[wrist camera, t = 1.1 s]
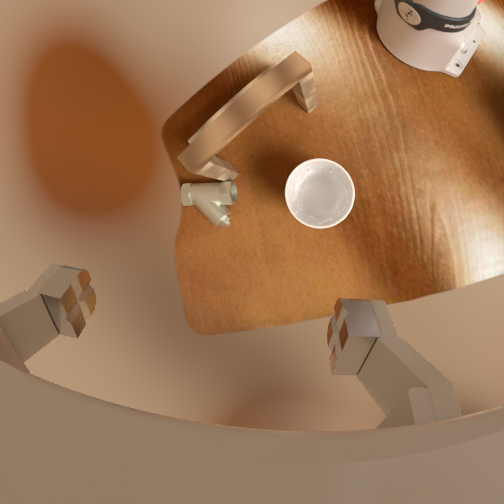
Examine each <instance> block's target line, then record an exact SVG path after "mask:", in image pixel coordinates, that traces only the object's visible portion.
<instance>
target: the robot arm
mask: <svg viewBox="0 0 504 504" xmlns="http://www.w3.org/2000/svg"><path fill="white" fill-rule="evenodd" d="M482 1H483V0H376V1H375V3H374V7H375V10H376V12H377V14H378V18H377V32H378V35H379V37H380V39H381V41H382V43H383V44H384V45H385V47H386V48H387V49H388V50H389V51H390V52H391V53H392V54H393V55H394V56H395V57H397V58H398V59H400V60H401V61H403V62H404V63H406V64H408V65H410V66H413V67H415V68H418V69H422V70H427V71H440V72H443V73H446V74H448V75H450V76H453V77H459V76H460V74H461V73H462V71H463V70H464V68H465V66H466V65H467V63H468V62H469V60H470V58H471V57H472V55H473V54H474V52H475V50H476V49H477V47H478V45H479V44H480V42H481V40H482V38H483V37H484V34H485V32H484V30H483V28H482V26H481V24H480V23H479V21H480V19H481V15H480V12H479V11H478V9H477V8H476V5H477V4H480V3H481V2H482ZM455 64H456V65H458V67H457V66H456V65H455ZM90 281H91V278H90V275H89V273H88V271H86V270H85V269H79V268H74V267H69V266H62V265H57V264H52V265H50V266H49V267H48V268H47V269H46V270H45V271H44V272H43V273H42V275H41V276H40V277H39V278H38V279H37V281H35V283H34V284H33V285H32V286H31V288H30V289H29V290H28V291H23V292H21V293H19V294H17V295H15V296H13V297H12V298H9V299H8V300H6V301H4V302H2V303H0V504H504V405H503V406H500V407H496V408H493V409H489V410H485V411H481V412H477V413H473V414H469V415H465V416H462V414H461V410H460V407H459V403H458V400H457V397H456V394H455V391H454V388H453V385H452V383H451V382H450V381H449V380H448V379H447V378H446V377H445V376H444V375H443V374H442V373H440V372H439V371H438V370H437V369H436V368H435V367H434V366H433V365H432V364H431V363H430V362H428V361H427V360H426V359H425V358H424V357H423V356H422V355H421V354H420V353H418V352H417V351H416V350H415V349H414V348H413V347H412V346H411V345H410V344H408V343H407V342H406V341H405V340H404V339H403V338H398V337H397V333H396V330H395V327H394V325H393V322H392V319H391V316H390V314H389V311H388V308H387V305H386V303H385V301H383V300H361V299H345V298H338V299H337V301H336V304H335V306H334V310H335V315H334V316H333V317H331V319H330V322H329V325H328V332H327V342H328V347H329V348H330V349H331V350H332V352H331V355H330V357H329V358H330V367H331V374H332V375H357V378H358V379H359V380H360V382H361V383H362V384H363V386H364V387H365V388H366V390H367V391H368V392H369V394H370V395H371V396H372V398H373V399H374V400H375V401H376V403H377V404H378V405H379V407H380V408H381V409H382V411H383V412H384V413H385V415H386V416H387V417H386V418H385V419H384V420H383V421H382V422H381V424H379V426H378V427H377V428H376V429H369V430H354V431H353V430H352V431H282V430H281V431H280V430H265V429H252V428H242V427H232V426H224V425H216V424H209V423H202V422H196V421H189V420H184V419H179V418H174V417H169V416H164V415H159V414H154V413H150V412H146V411H141V410H137V409H133V408H129V407H125V406H122V405H118V404H114V403H111V402H107V401H104V400H101V399H98V398H94V397H91V396H88V395H85V394H82V393H79V392H76V391H73V390H70V389H68V388H65V387H62V386H60V385H57V384H54V383H52V382H49V381H46V380H44V379H41V378H39V377H37V376H34V375H32V374H30V372H29V370H28V369H27V367H26V366H25V364H24V362H25V361H26V360H28V359H29V358H30V357H32V356H33V355H34V354H35V353H37V352H38V351H39V350H40V349H42V348H43V347H44V346H45V345H47V344H48V343H49V342H51V341H52V340H53V339H54V338H56V337H57V336H58V335H59V334H62V335H66V336H70V337H74V338H78V337H79V335H80V334H81V332H82V330H83V329H84V327H85V325H86V323H85V319H86V318H88V317H90V316H91V315H92V313H93V311H94V310H95V305H96V294H95V291H94V289H93V288H92V287H91V286H90V285H89V283H90Z"/></svg>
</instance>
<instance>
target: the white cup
mask: <svg viewBox="0 0 504 504" xmlns="http://www.w3.org/2000/svg"><path fill="white" fill-rule="evenodd" d="M354 196H355V192H354V185H353V182H352V180H351V178H350V176H349V174H348V173H347V172H346V170H345V169H344V168H343V167H341V166H340V165H339V164H337V163H335V162H333V161H331V160H327V159H311V160H308V161H305V162H303V163H301V164H300V165H298V166H297V167H296V168H295V169H294V170H293V171H292V172H291V174H290V176H289V177H288V180H287V182H286V186H285V199H286V203H287V206H288V208H289V210H290V212H291V213H292V215H293V216H294V217H295V218H296V219H297V220H298V221H300V222H301V223H303V224H305V225H307V226H309V227H313V228H328V227H331V226H334V225H336V224H338V223H340V222H341V221H342V220H343V219H344V218H345V217H346V216H347V215H348V214H349V212H350V210H351V208H352V206H353V203H354Z"/></svg>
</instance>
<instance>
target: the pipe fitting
mask: <svg viewBox="0 0 504 504" xmlns="http://www.w3.org/2000/svg"><path fill="white" fill-rule="evenodd" d="M237 196H238V191H237V185H236V183H235V181H226V182H213V183H186V184H183V185H182V187H181V190H180V198H181V201H182V204H183V205H184V206H190V205H195V206H196V207H197V208H198V209H199V210H200V211H201V212H202V213H203V214H204V215H205V216H206V217H207V218H208V219H209V220H210V221H211V222H212V223H213V224H214V225H215V227H217V226H219V225H221V226H222V227H224V226H226V227H228V226H230V225H231V223H232V222H231V221H230V220H231V217H230V214H231V213H232V211H231V210H230V209H229V208H228V207H227V206H226V205H233V204H236V201H237Z"/></svg>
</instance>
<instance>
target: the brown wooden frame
mask: <svg viewBox="0 0 504 504" xmlns="http://www.w3.org/2000/svg"><path fill="white" fill-rule="evenodd" d="M291 88H293V91H294V93H295V96H296V99H297V102H298V103H299V104H300V105H301V106H302V107H303V108H304V109H305V110H306V111H307V112H308V113H310V112H311V111H312V110H313V109H315V108H316V107H317V106H318V100H317V94H316V89H315V83H314V78H313V73H312V68H311V64H310V63H309V62H308V61H307V60H306V59H304V58H303V57H302V56H301V55H300V54H298V53H297V52H296V51H295V52H293V53H292V54H291V55H289V56H288V57H287V58H286V59H284V60H283V61H282V62H281V63H279V62H278V61H275V62H274V63H273V64H272V65H270V66H269V67H268V68H267V69H265V70H264V71H263V72H262V73H261V74H259V75H258V76H257V77H256V78H255V79H253V80H252V81H251V82H250V83H249V84H248V85H246V86H245V87H244V88H243V89H242V90H241V91H240V92H238V93H237V94H236V95H235V96H234V97H233V98H232V99H231V100H230V101H228V102H227V103H226V104H225V105H224V106H223V107H222V108H221V109H220V110H219V111H218V112H217V113H215V114H214V115H213V116H212V117H211V118H210V119H209V120H208V121H207V122H206V123H205V124H204V125H203V126H202V127H201V128H200V129H199V130H198V131H197V132H196V133H195V134H194V135H193V136H192V137H191V138H190V139H189V140H188V142H189V143H190V144H189V145H188V146H187V148H186V149H185V150H184V151H183V152H182V153H181V154H180V155H179V156H178V157H177V158H178V160H179V161H180V162H181V163H182V164H183V166H184V167H185V168H186V169H187V170H188V172H190V173H194V174H198V175H203V176H206V177H210V178H214V179H218V180H222V181H233V180H234V179H235V178H236V177H237V176H238V175H239V174H240V173H239V172H238V171H237V170H236V169H235V168H234V167H233V165H232V164H231V163H230V162H227V161H225V160H223V159H221V158H218V157H216V156H215V155H216V154H218V153H219V152H220V151H221V150H222V149H223V148H224V147H225V146H226V145H227V144H228V143H229V142H230V141H231V140H232V139H233V138H235V137H236V136H237V135H238V134H239V133H240V132H241V131H242V130H243V129H244V128H245V127H247V126H248V125H249V124H250V123H251V122H252V121H253V120H254V119H256V118H257V117H258V116H259V115H260V114H261V113H262V112H264V111H265V110H266V109H267V108H268V107H269V106H270V105H272V104H273V103H274V102H275V101H276V100H278V99H279V98H280V97H281V96H282V95H283V94H285V93H286V92H287V91H288V90H290V89H291Z"/></svg>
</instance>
